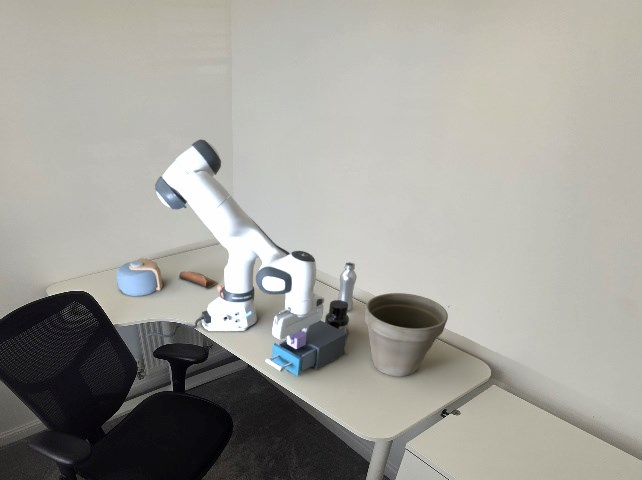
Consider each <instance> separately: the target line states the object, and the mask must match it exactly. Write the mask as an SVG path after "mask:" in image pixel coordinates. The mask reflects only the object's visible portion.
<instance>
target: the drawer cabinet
mask: <svg viewBox="0 0 642 480" xmlns="http://www.w3.org/2000/svg"><path fill="white" fill-rule="evenodd" d="M300 331H302V330H300ZM347 337H348V332H347V333H345V332H343V331H341V330H339V329H337V328H335V327H333V326H331V325H329V324H327V323H325V321H323V320H322V319H321V320H320V321H318V322H316V323H314V324H312V325H310V326H309V329H308V331H307V333H306V343H307V344H308V345H310V346H312V347H314V348H316V349H317V356H316V364H315V365H313V366H311V367H312V368H314V369H315V370H318V369H320V368H322V367H323V366H325V365H327V364H328V363H330V362H332V361H334V360H336V359H337V358H339V357H341V356H343V355H344V354H345V350H346V343H347Z"/></svg>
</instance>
